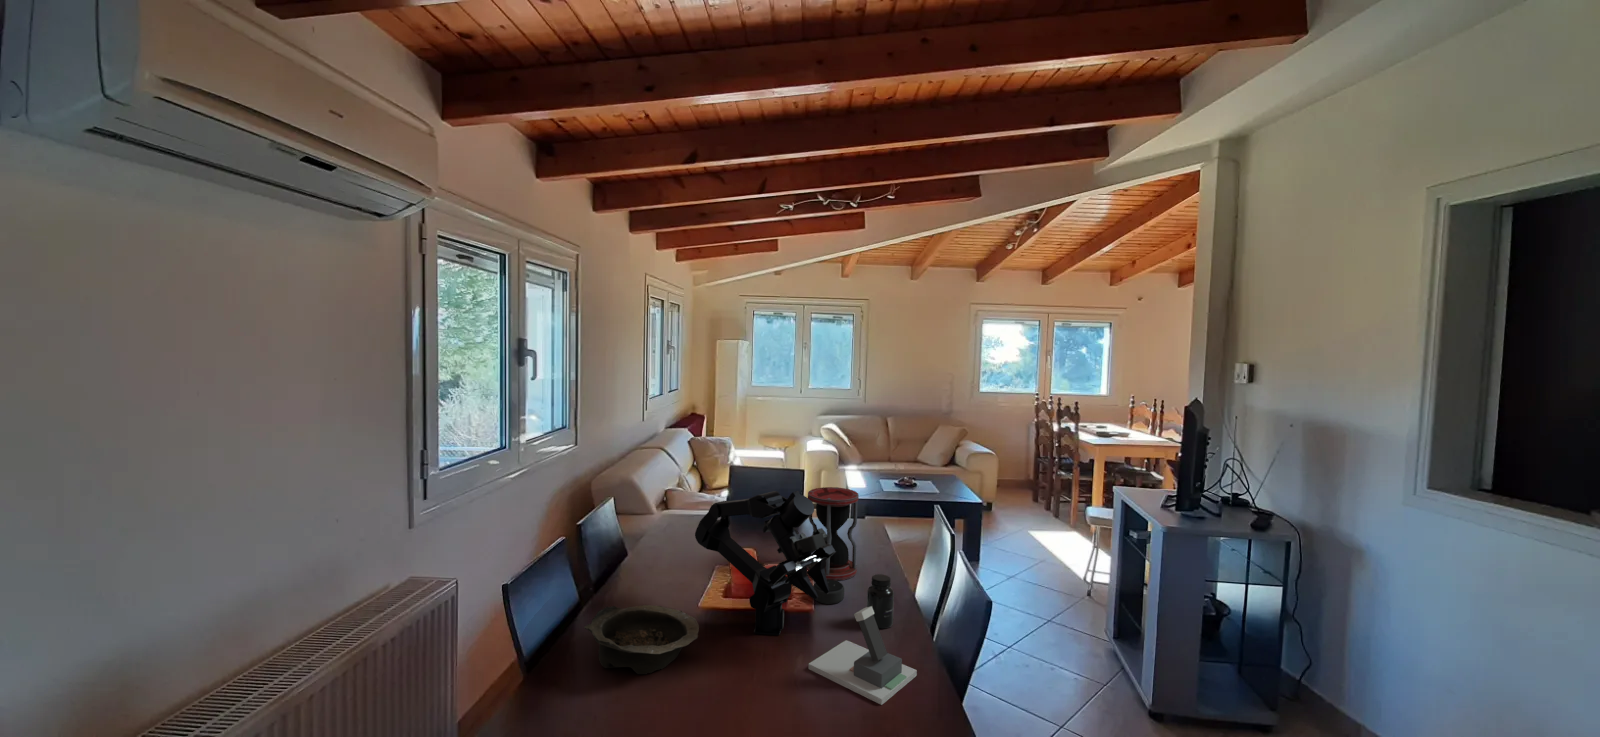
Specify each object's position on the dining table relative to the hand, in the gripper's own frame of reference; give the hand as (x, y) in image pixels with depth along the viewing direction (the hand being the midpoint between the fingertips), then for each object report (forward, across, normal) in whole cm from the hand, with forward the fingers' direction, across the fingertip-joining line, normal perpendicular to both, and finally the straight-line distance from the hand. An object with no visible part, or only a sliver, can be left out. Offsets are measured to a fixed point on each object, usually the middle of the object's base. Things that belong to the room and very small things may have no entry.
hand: (822, 595), depth 134 cm
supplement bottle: (+11, +22, +8) cm, 26 cm away
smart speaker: (-2, +24, +22) cm, 33 cm away
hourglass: (-10, +41, +30) cm, 52 cm away
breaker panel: (+18, 0, +1) cm, 18 cm away
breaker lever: (+17, 0, -5) cm, 18 cm away
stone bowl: (-11, -28, +30) cm, 43 cm away
